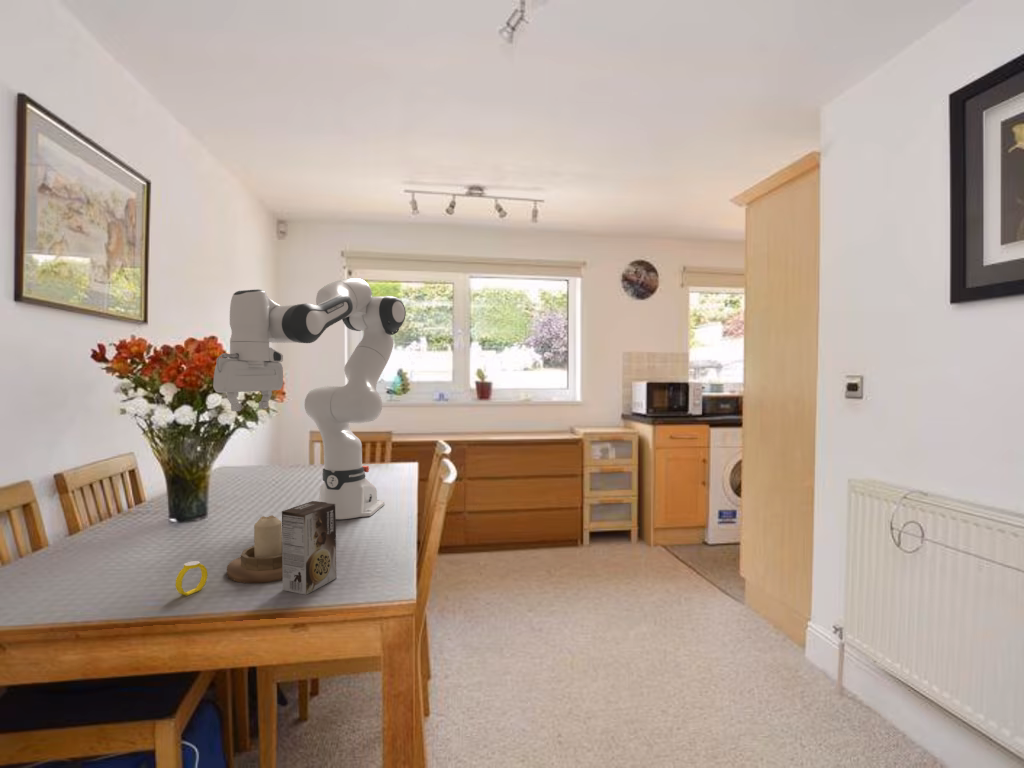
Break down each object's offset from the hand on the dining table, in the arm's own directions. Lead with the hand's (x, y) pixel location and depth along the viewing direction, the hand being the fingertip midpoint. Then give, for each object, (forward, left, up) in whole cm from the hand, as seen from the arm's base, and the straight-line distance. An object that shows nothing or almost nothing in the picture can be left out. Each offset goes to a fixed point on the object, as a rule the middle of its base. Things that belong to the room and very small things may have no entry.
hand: (250, 409), depth 133 cm
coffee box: (+18, +29, -34) cm, 48 cm away
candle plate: (+12, +15, -34) cm, 39 cm away
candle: (+12, +15, -33) cm, 38 cm away
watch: (+27, +9, -34) cm, 45 cm away
